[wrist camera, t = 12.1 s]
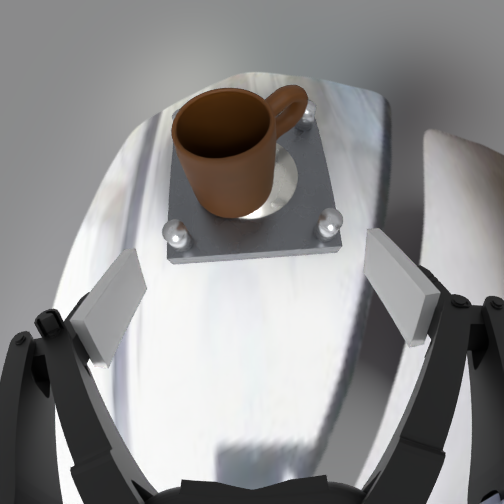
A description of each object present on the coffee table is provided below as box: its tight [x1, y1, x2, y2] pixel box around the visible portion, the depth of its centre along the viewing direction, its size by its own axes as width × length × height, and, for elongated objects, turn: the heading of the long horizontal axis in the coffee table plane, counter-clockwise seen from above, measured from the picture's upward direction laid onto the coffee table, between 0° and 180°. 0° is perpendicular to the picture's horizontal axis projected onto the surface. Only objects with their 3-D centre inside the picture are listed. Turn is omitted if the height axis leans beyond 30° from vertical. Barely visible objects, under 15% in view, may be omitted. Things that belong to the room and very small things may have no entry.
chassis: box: [162, 100, 343, 264], centre depth 27 cm, size 16×16×5 cm
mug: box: [171, 85, 308, 218], centre depth 23 cm, size 12×8×9 cm, turn 127°
